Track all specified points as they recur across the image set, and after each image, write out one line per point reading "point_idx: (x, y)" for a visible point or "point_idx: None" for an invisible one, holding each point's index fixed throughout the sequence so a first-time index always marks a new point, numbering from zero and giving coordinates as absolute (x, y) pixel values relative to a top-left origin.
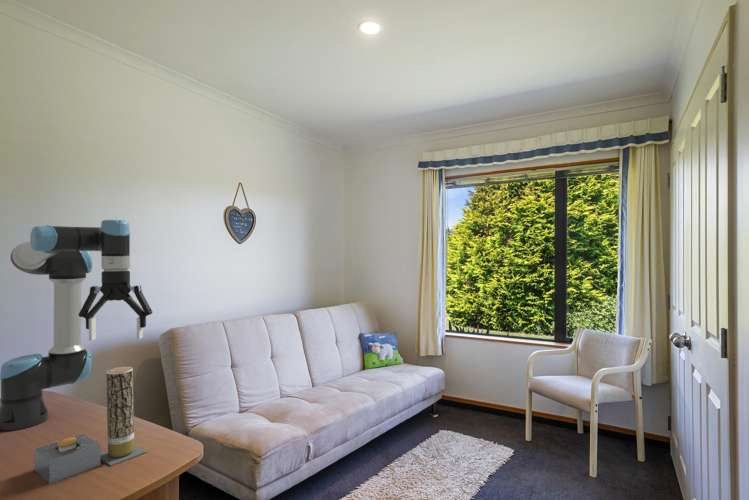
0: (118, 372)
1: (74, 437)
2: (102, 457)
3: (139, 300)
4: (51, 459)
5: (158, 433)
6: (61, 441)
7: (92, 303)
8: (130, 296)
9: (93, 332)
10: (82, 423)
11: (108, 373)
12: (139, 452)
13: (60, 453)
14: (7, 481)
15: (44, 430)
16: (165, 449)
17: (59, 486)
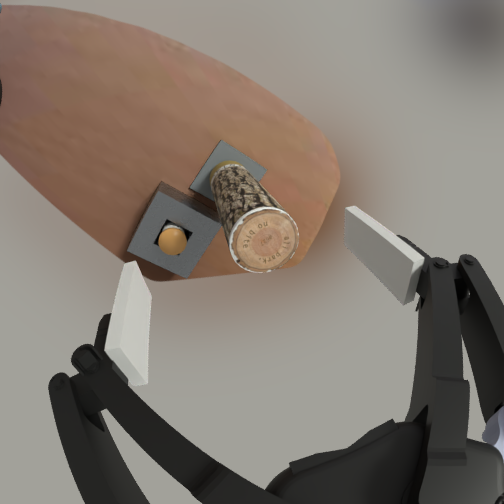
0: (277, 266)
1: (173, 230)
2: (206, 193)
3: (477, 368)
4: (185, 274)
5: (245, 94)
6: (165, 246)
7: (96, 455)
8: (462, 402)
9: (141, 305)
10: (63, 71)
11: (249, 269)
12: (257, 174)
13: (182, 258)
14: (124, 261)
15: (25, 114)
16: (290, 157)
17: (203, 264)
